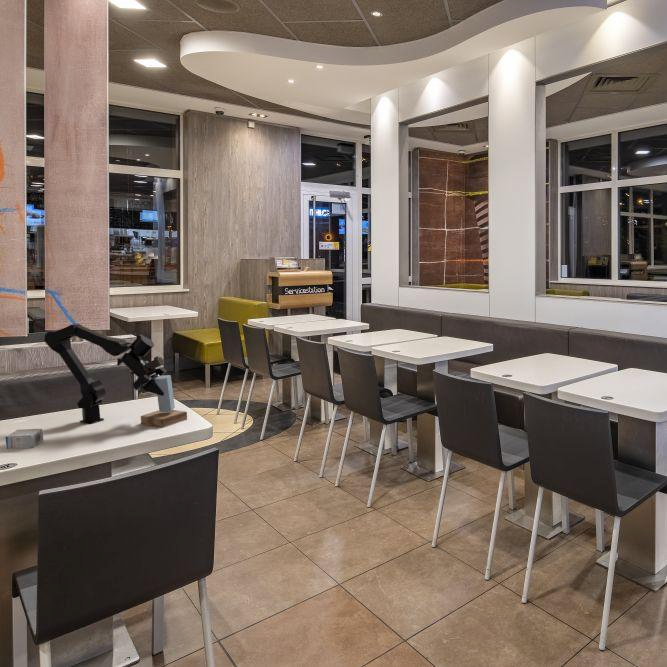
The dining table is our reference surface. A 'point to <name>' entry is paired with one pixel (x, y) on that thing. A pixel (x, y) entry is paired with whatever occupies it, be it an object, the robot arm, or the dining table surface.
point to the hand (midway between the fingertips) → (165, 393)
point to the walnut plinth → (163, 418)
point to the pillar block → (165, 393)
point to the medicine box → (24, 438)
